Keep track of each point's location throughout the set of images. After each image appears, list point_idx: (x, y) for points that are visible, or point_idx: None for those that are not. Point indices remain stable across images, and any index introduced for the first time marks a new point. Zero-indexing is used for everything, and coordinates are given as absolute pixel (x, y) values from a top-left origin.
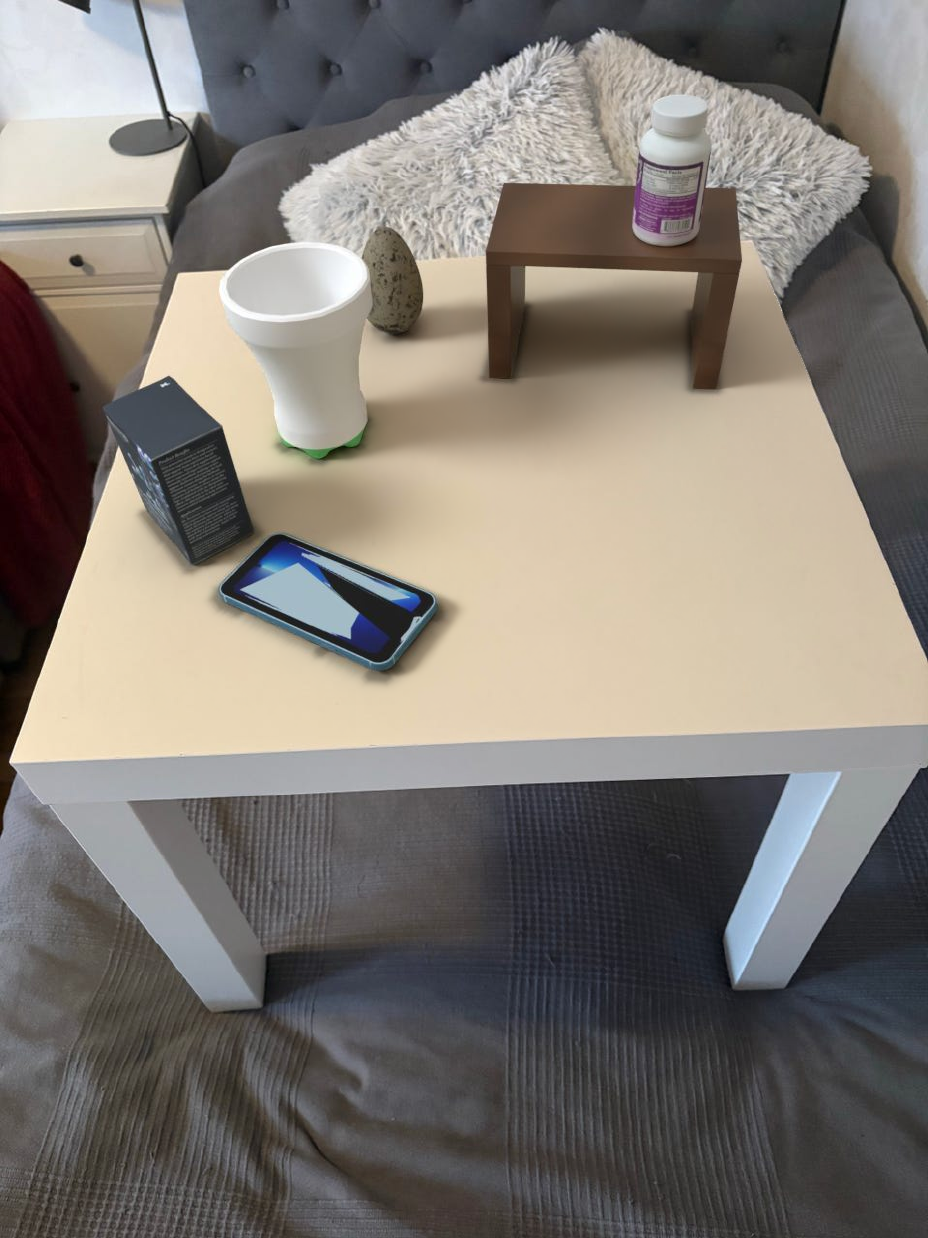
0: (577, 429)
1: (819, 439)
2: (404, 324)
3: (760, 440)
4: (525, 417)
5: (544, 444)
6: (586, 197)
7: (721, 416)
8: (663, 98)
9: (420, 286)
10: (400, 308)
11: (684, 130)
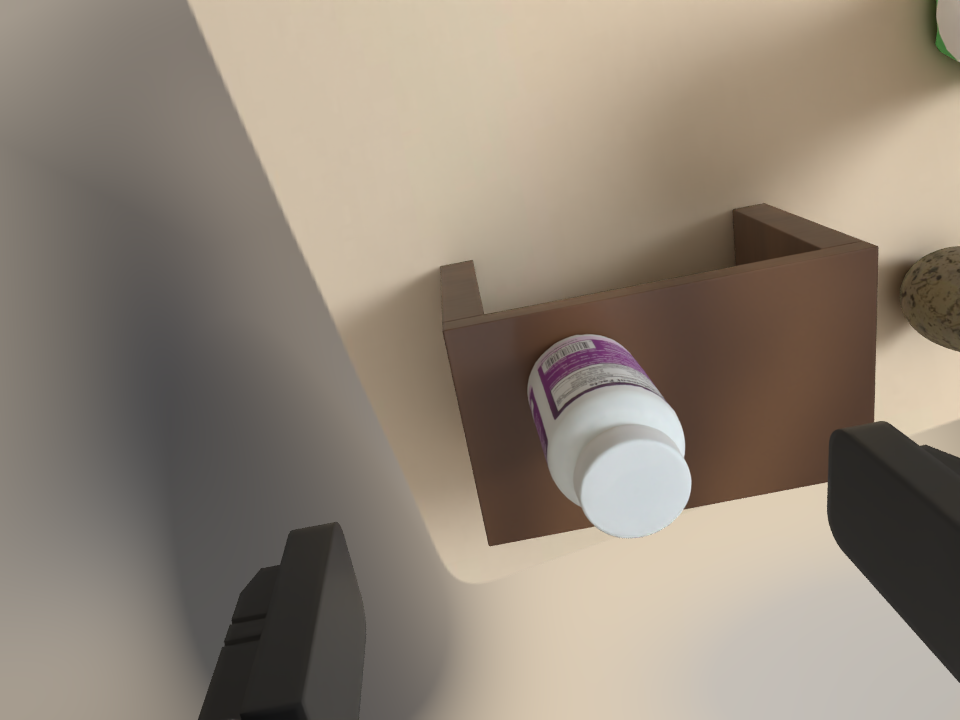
0: (616, 117)
1: (281, 192)
2: (920, 260)
3: (359, 166)
4: (695, 123)
5: (657, 67)
6: (727, 459)
7: (422, 206)
8: (673, 510)
9: (925, 308)
10: (943, 259)
11: (611, 429)
